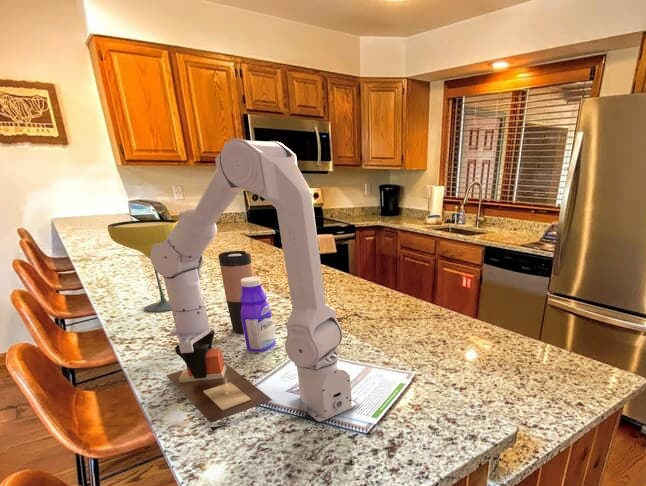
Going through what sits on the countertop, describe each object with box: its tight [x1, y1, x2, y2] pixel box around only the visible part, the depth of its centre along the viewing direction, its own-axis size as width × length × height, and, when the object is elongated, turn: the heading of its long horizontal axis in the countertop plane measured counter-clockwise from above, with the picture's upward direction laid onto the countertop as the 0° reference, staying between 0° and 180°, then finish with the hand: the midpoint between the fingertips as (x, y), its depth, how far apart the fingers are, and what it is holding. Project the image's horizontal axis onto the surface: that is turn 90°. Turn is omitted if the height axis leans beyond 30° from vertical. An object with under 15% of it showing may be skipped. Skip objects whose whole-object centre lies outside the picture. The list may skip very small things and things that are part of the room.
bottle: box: [240, 276, 277, 353], centre depth 97 cm, size 7×6×17 cm
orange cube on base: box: [179, 347, 226, 383], centre depth 85 cm, size 8×4×5 cm, turn 103°
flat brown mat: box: [166, 362, 273, 431], centre depth 82 cm, size 24×11×2 cm, turn 43°
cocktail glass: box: [107, 218, 179, 313], centre depth 127 cm, size 18×18×25 cm
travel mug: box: [217, 250, 255, 335], centre depth 110 cm, size 8×8×20 cm
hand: (203, 371), depth 85 cm, fingers closed on orange cube on base, 4 cm apart
